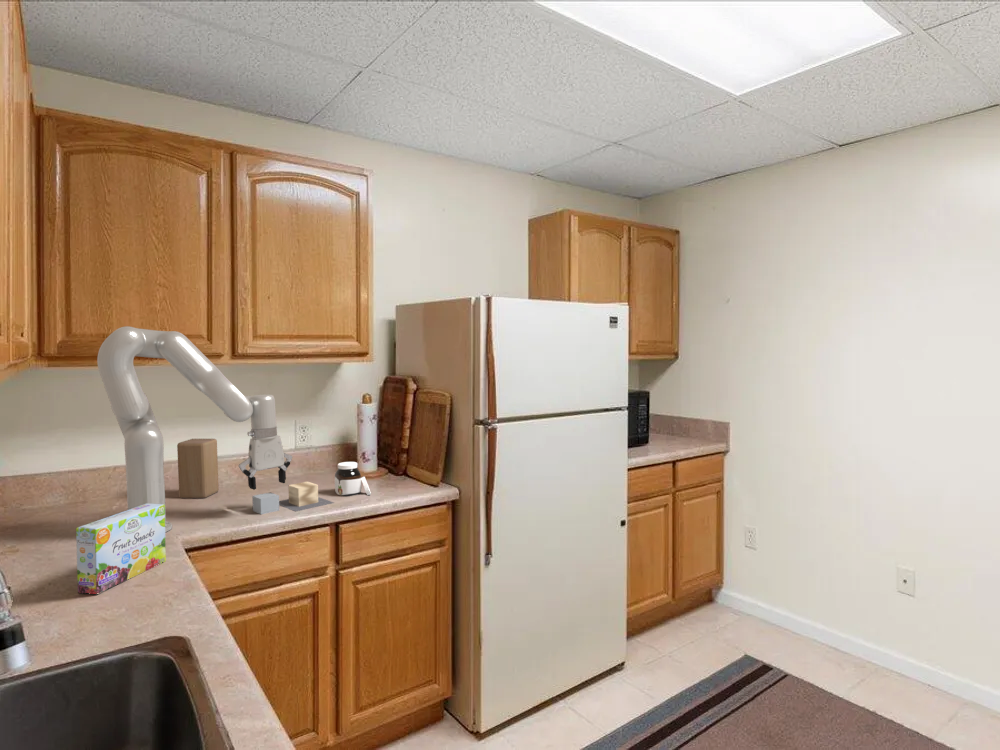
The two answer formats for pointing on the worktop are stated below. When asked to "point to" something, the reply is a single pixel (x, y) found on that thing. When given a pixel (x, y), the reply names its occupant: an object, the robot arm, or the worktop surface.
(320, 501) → the build mat
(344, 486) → the spread jar
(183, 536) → the worktop surface
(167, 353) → the robot arm
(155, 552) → the snack box
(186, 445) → the block
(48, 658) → the worktop surface
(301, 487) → the base block
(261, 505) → the grey cube
